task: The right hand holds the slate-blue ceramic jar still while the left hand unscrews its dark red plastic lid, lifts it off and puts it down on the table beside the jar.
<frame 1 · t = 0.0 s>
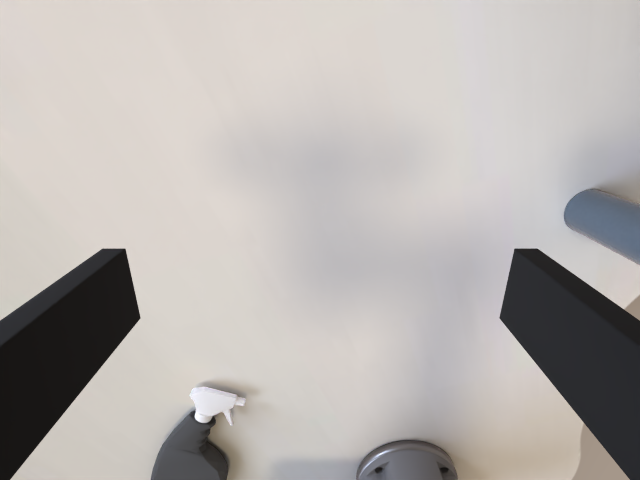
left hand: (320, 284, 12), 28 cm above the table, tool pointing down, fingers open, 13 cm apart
spray bottle: (200, 444, 54), on the table
jar: (586, 210, 41), on the table
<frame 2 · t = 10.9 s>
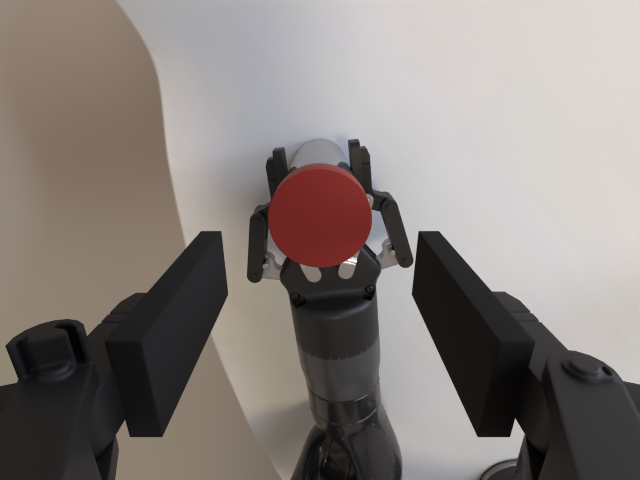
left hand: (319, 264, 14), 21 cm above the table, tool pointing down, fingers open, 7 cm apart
lid: (319, 218, 19), point 15 cm above the table, screwed on, not yet turned
jar: (319, 166, 33), on the table, touching right hand
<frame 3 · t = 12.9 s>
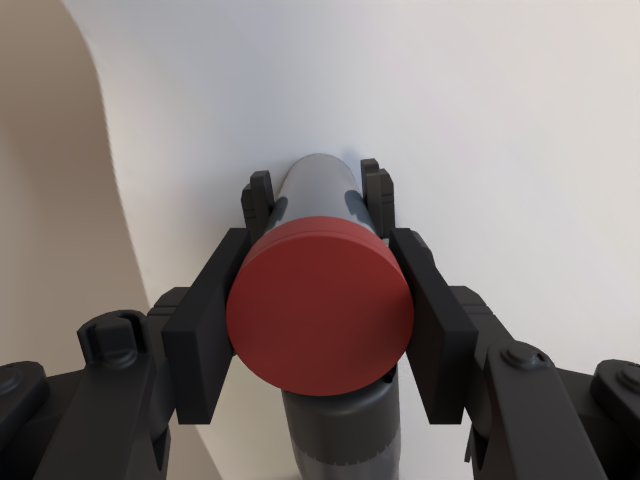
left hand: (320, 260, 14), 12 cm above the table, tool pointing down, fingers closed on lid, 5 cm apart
lid: (320, 316, 11), point 15 cm above the table, screwed on, not yet turned, touching left hand
jar: (320, 189, 25), on the table, touching right hand
when the left hand's fingers open (12 cm above the table, at t = 14.1 s): lid stays where it is, point 16 cm above the table.
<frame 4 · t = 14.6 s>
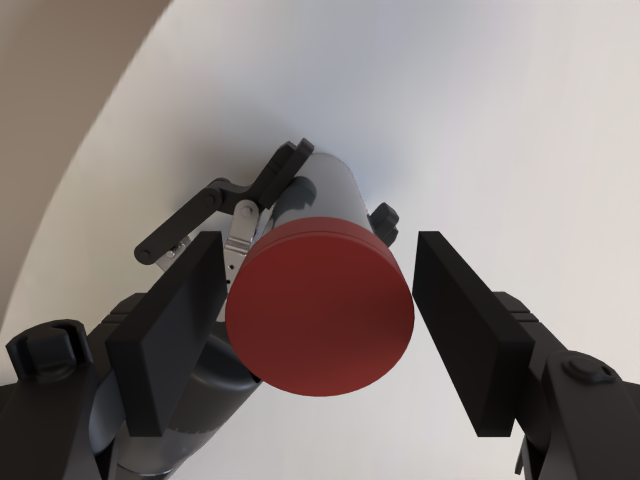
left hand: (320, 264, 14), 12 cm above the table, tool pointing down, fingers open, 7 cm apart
lid: (319, 317, 11), point 16 cm above the table, turned 86° so far, risen 0.2 cm, still on its thread
jar: (319, 189, 25), on the table, touching right hand
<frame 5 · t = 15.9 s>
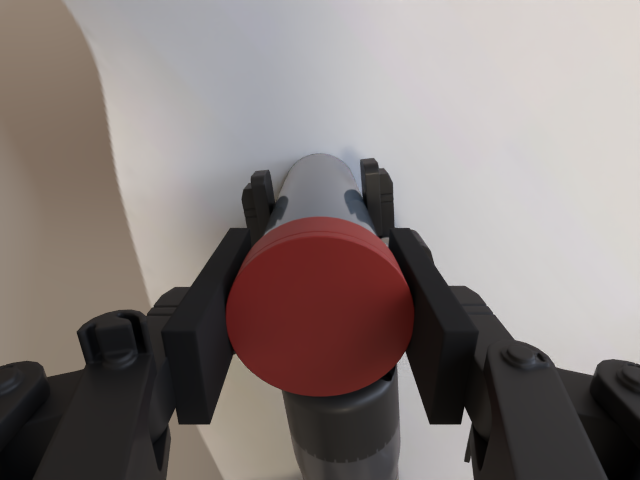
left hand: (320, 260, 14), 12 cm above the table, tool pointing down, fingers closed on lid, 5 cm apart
lid: (320, 317, 11), point 16 cm above the table, turned 86° so far, risen 0.2 cm, still on its thread, touching left hand
jar: (320, 189, 25), on the table, touching right hand
when the left hand's fingers open (0 cm above the table, at t = 21.8 s): lid drops 3 cm, point 1 cm above the table.
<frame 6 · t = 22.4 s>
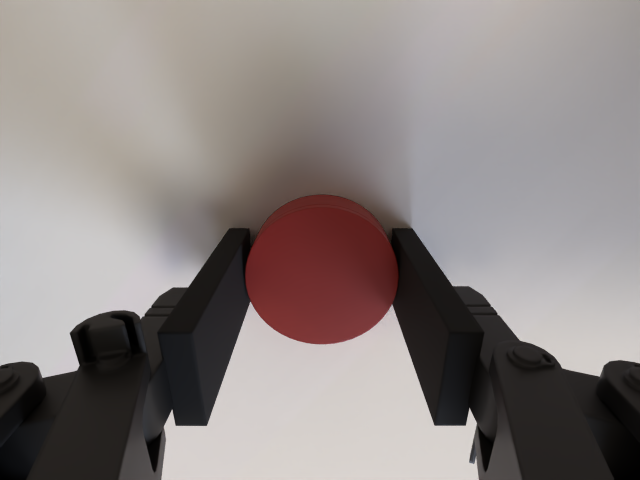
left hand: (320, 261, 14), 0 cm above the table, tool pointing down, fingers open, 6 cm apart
lid: (321, 276, 13), point 1 cm above the table, off its thread, touching left hand
when the right hand's fingers open (6 cm above the table, at t = 23.7 s): jar stays where it is, on the table.
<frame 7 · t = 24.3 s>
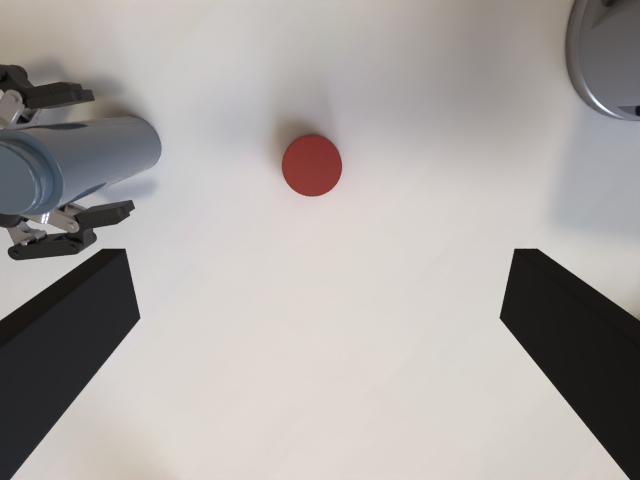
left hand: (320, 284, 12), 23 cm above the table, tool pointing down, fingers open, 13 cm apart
lid: (312, 166, 33), point 1 cm above the table, off its thread
jar: (134, 144, 33), on the table
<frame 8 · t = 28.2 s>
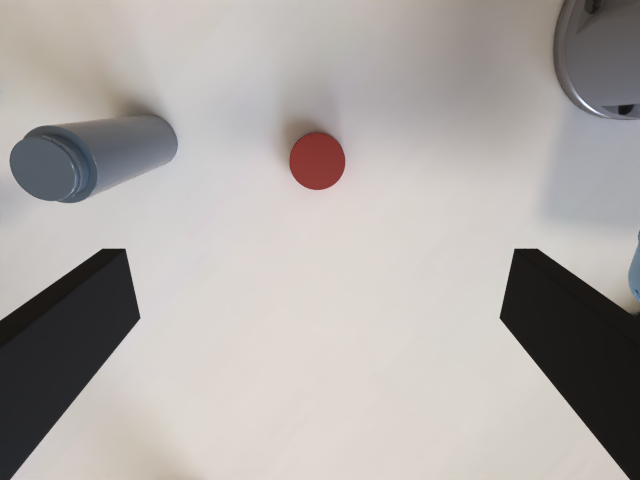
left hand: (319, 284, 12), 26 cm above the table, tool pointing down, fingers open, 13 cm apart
lid: (317, 162, 35), point 1 cm above the table, off its thread
jar: (152, 140, 36), on the table
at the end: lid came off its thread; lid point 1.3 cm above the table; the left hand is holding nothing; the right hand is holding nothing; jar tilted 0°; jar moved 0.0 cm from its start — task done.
